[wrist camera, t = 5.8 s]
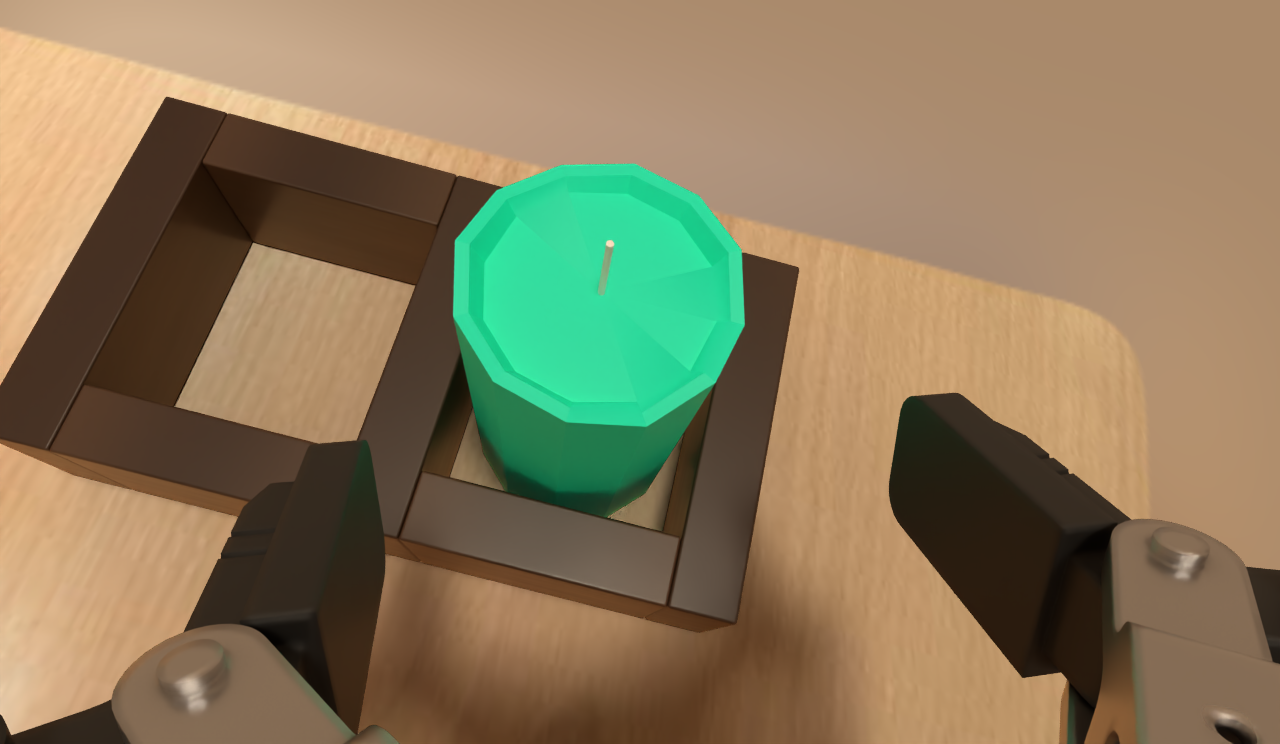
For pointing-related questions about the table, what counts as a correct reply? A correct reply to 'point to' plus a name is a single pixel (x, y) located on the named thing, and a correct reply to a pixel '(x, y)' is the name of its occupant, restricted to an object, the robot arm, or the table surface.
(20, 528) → the table surface
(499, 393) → the candle
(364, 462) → the robot arm
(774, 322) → the rack
